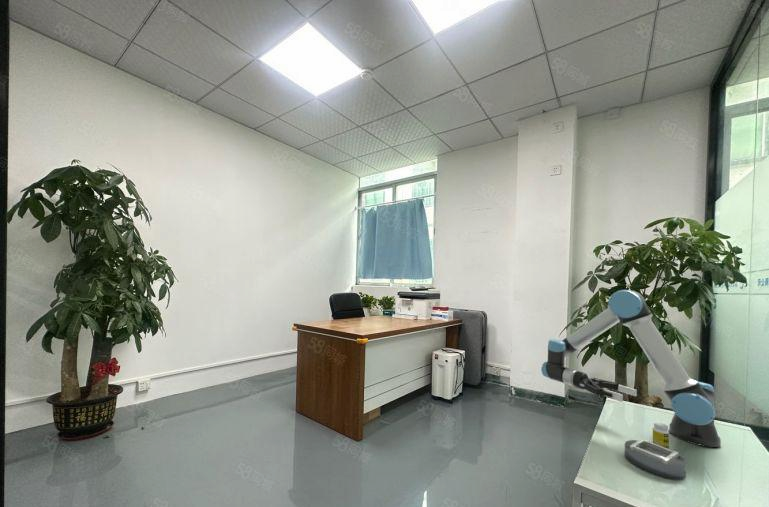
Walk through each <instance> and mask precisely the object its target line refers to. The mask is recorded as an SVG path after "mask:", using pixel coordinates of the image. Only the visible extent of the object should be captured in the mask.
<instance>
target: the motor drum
mask: <svg viewBox="0 0 769 507" xmlns="http://www.w3.org/2000/svg"><path fill="white" fill-rule="evenodd" d="M624 458H625V459H626V460H627V461H628V462H629V463H630V464H631V465H633V466H634V467H636V468H637V469H640V470H641V471H644V472H646V473H648V474H650V475H652V476H656V477H658V478H662V479H667V480H671V481H672V480H673V481H682V480H683V481H684V480H685V479H686V478H687V461H686V460H685V459H684V458H683V457H682V456H681V455H680V454H679V451H675V450H672V449H671V448H669V449H667V448H664V447H662V446H659V445H657V444H654V443H653V441H652V442H651V441H649V440H646V439H645V438H640V439H636V440H635V439H629V440H626V441H624Z"/></svg>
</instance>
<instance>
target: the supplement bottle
mask: <svg viewBox="0 0 769 507" xmlns="http://www.w3.org/2000/svg"><path fill="white" fill-rule="evenodd" d="M668 430H669V425H667V424H666V423H662V422H658V421H654V422H653V427H652V443H654V444H657V445H659V446H662V447H664V448H667V449H670V431H668Z"/></svg>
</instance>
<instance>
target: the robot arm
mask: <svg viewBox="0 0 769 507" xmlns="http://www.w3.org/2000/svg"><path fill="white" fill-rule="evenodd" d="M652 317H653V312H651V310H650V309H649V307H648V305H647V302H646V299H645V297H644V296H643V295H642V294H641V293H639V291H638V292H637V291H636V290H630V289H620V290H617V291H616V292H613V293H612V294H611V295H610V297H609V299H608V305H607V308H606V309H604V310H603V311H602V312H600V313H599V314H598V315H596V316H594V317H593V318H591V319H590V320H589V321H588V322H586V323H584V324H583V325H582V326H580V327H579V328H578V329H577V330H575V331H573V332H572V333H571V334H569V335H567V337H565V338H563V339H562V340H559V339H549V340H548V343H547V361H545V362H543V364H542V366H541V367H540V368H541V373H542V375H543V376H544V377H546V378H547V379H550V380H553V381H556V382H559V383H563V384H565V385H567V386H568V387H574V388H577V389H580V390H586V391H588V392H590V393H591V394H594V395H595V396H597V397H600V398H604V397H606V398H609V399H611V400H616V401H618V402H621V403H623V402H624V394H627V395H629V396H633V397H637V395H638V394H637V393H638V389H635V388H632V387H628V386H625V385H622V384H621V383H620V382H619V381H617V382H615V381H611V380H606V379H601V378H596V377H592V378H589V376H588V374H587V373H586V372H584V371H579V370H576V369H573V368H569V367H566V366H565V361H566V360H565V359H566V358H567V357H570V356H572V355H574V353H575V352H577V351H579V349H582V348H583V347H584V346H585V345H587V344H588V343H590V342H591V341H593V340H594V339H596V338H597V337H599V336H600V335H602V334H603V333H605V332H606V331H608V330H609V329H610V328H612V327H614V326H615V325H617V324H618V323H621V325H622V326H625V327H628V328H629V330H630V332H631V334H632V336H634V339H635V340H636V342H637V343H638V345H639V346H640V348H641V349H642V351H643V352H644V354H645V356H646V357H647V359H648V361H649V362H650V363H651V365H652V368H654V370H655V371H656V373H657V374H658V376H659V378H660V379H661V381H662V382H663V387H662V390H663V392H664V393H665V395H666V397H667V398H668V400H669V402H670V404H671V405H670V406H671V410H672V411H673V412H674V414H673V416H672V419H671V422H670V423H669V425H668V430H669V431H668V432H669V434H670V433H671V435H672V436H674V437H676V438H678V439H681V440H683V441H685V442H688V441H689V442H688V443H690V442H692V444H694V443H695V444H694V445H697V444H701V445H704V446H703V447H705V446H708V447H707V448H712V447H718V448H720V447H721V446H722V444H721V442H722V441H721V438H720V436H719V435H718V431H717V428H716V427H717V426H716V425H715V417H716V415H717V411H716V407H715V390H714V389H715V388H714V386H713V385H712V384H710V383H707V382H706V383H705V382H703V381H698V380H695V379H693V378H692V377H690V375H688V373H687V372H686V369H684V367H683V366H682V364H681V363H680V361H679V360H678V358H677V357H676V354H674V352H673V350H672V349H671V348H670V346H669V345H668V343H667V342H666V340H665V338H664V337H663V335H662V334H661V332H660V331H659V329H658V328H657V326H656V325H655V324H654V322H653V321H652ZM611 390H616V391H618V392H620V393H618V392H615V391H611ZM621 393H622V394H621ZM701 445H700V446H701ZM720 445H721V446H720ZM719 446H720V447H719Z"/></svg>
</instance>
